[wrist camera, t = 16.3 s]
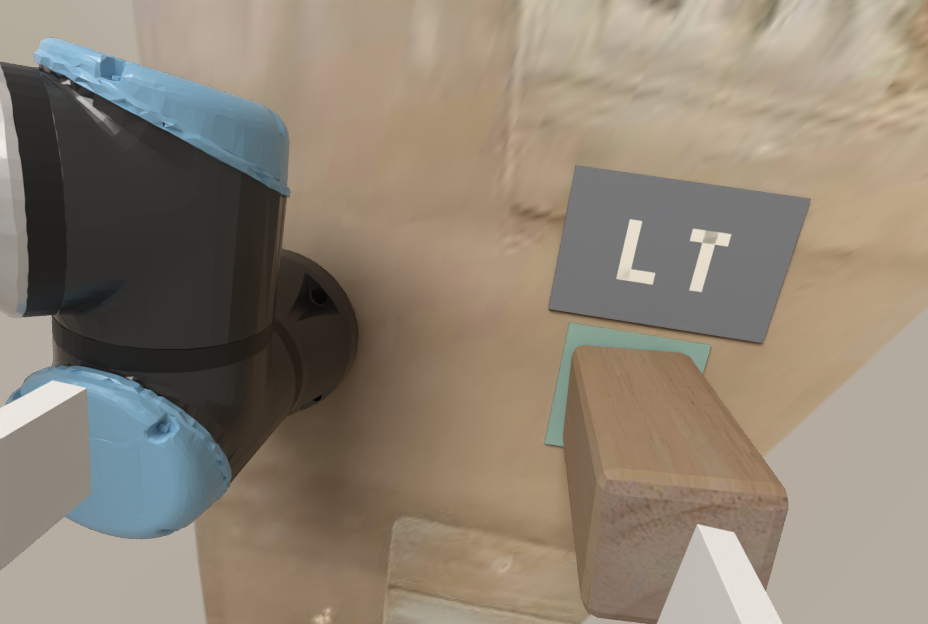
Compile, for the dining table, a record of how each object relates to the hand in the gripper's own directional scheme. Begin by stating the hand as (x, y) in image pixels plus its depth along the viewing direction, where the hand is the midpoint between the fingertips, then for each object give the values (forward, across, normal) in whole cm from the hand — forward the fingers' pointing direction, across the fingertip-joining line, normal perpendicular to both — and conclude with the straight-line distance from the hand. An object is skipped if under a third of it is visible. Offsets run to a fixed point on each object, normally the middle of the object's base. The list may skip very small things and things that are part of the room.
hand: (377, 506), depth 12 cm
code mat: (+36, +15, +1) cm, 39 cm away
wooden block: (+36, +15, -12) cm, 41 cm away
